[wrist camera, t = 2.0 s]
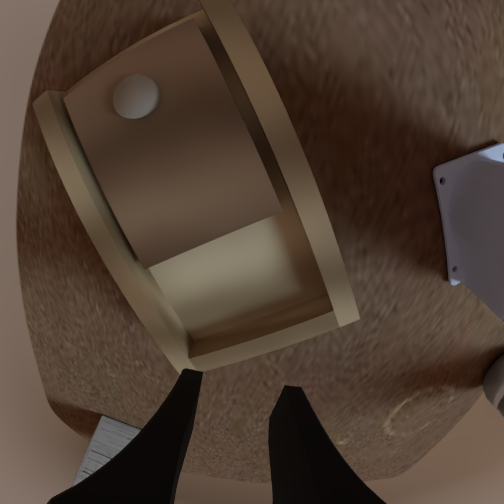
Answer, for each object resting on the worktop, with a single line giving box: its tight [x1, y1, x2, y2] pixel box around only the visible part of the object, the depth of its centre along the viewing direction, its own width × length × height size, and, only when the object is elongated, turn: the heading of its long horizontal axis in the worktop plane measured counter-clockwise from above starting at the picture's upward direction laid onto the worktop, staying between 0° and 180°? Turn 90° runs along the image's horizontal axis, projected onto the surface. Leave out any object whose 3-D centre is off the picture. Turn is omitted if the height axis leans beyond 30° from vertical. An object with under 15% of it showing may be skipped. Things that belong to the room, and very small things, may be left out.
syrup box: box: [72, 415, 141, 487], centre depth 21 cm, size 6×6×14 cm
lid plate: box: [63, 18, 283, 269], centre depth 13 cm, size 10×7×2 cm
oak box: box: [32, 0, 360, 374], centre depth 15 cm, size 18×11×5 cm, turn 23°
